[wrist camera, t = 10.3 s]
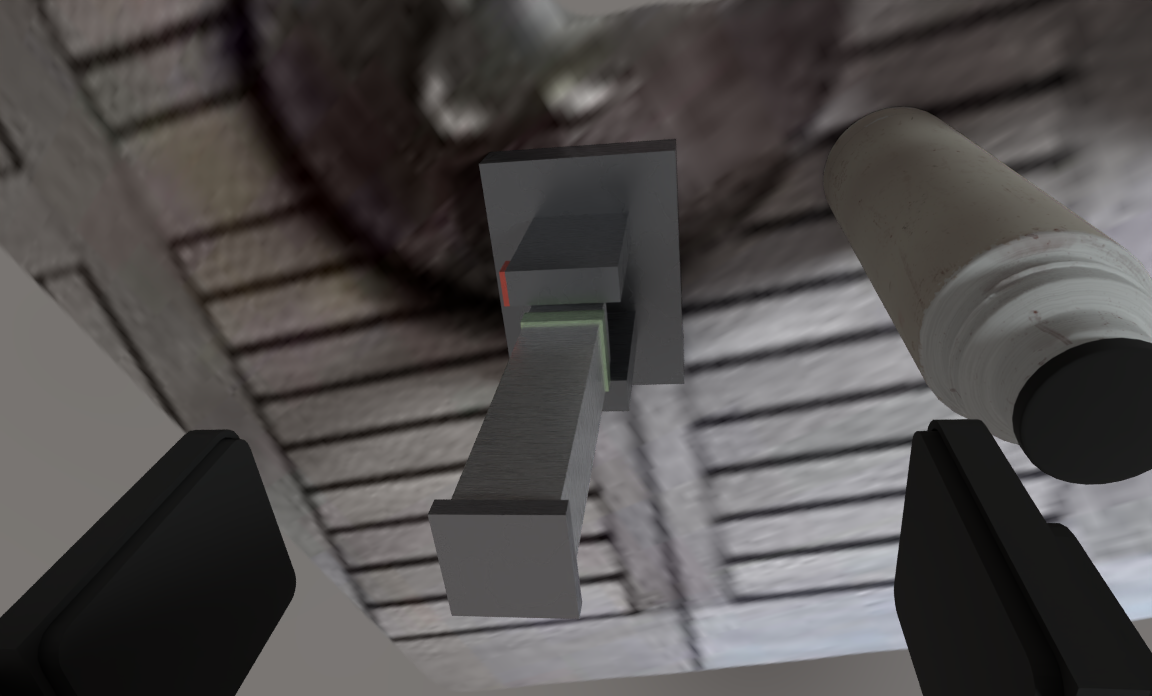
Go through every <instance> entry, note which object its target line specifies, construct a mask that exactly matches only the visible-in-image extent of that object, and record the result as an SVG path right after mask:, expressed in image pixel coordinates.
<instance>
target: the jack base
mask: <svg viewBox="0 0 1152 696" xmlns="http://www.w3.org/2000/svg"><path fill="white" fill-rule="evenodd" d="M479 168H480V174H481V180H482V187H483V193H484V199H485V206H486V212H487V219H488V225H489V231H490V238H491V244H492V250H493V257H494V263H495V269H496V276H497V282H498V288H499V295H500V301H501V308H502V314H503V320H504V327H505V333H506V339H507V346H508V352H509V358H510V356H511V354H512V352H513V349H514V347H515V344H516V342H517V340H518V337H519V335H520V332H521V323H520V322H521V320H522V318H523V315H524V313H529V311H530V308H531V306H532V305H555V304H580V303H606V310H607V321H608V333H609V344H610V355H611V362H610V379H611V381H610V387H609V391H607V392H605V397H604V402H603V408H602V411H629V407H630V398H631V390H632V385H648V384H684V344H683V318H682V291H681V264H680V238H679V211H678V185H677V158H676V139H668V140H654V141H640V142H626V143H612V144H598V145H584V146H570V147H556V148H541V149H527V150H513V151H499V152H489V154H488V155H487V156H486V157H485V158H484V159H483V160H482V161H481V162H480V163H479Z"/></svg>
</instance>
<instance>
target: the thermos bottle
mask: <svg viewBox="0 0 1152 696" xmlns="http://www.w3.org/2000/svg"><path fill="white" fill-rule="evenodd" d="M823 186H824V191H825V196H826V199H827V201H828V204H829V206H830V208H831V210H832V212H833V214H834V216H835V218H836V220H837V221H838V223H839V225H840V226H841V228H842V230H843V232H844V234H845V236H846V237H847V239H848V241H849V243H850V245H851V247H852V248H853V250H854V252H855V254H856V256H857V258H858V259H859V261H860V263H861V265H862V267H863V268H864V270H865V272H866V274H867V276H868V278H869V279H870V281H871V283H872V285H873V287H874V289H875V290H876V292H877V294H878V296H879V298H880V299H881V301H882V303H883V305H884V307H885V309H886V310H887V312H888V314H889V316H890V318H891V319H892V321H893V323H894V325H895V327H896V329H897V330H898V332H899V334H900V336H901V338H902V340H903V341H904V343H905V345H906V347H907V349H908V350H909V352H910V354H911V356H912V358H913V360H914V361H915V363H916V365H917V367H918V369H919V371H920V372H921V374H922V376H923V378H924V380H925V381H926V383H927V385H928V386H929V388H930V389H931V390H932V391H933V393H934V394H935V395H936V397H937V398H938V399H939V400H940V401H941V402H942V403H944V404H945V405H946V406H947V407H949V408H950V409H951V410H952V411H954V412H955V413H957V414H959V415H961V416H963V417H965V418H967V419H979V420H982V421H983V423H984V424H985V425H986V426H987V428H988V430H989V431H990V433H991V434H992V435H994V436H996V437H998V438H1000V439H1002V440H1004V441H1007V442H1011V443H1014V444H1018V445H1020V447H1021V448H1022V450H1023V451H1024V453H1025V454H1026V455H1027V457H1028V458H1029V459H1030V461H1031V462H1032V463H1033V464H1034V465H1035V466H1036V467H1038V468H1039V469H1040V470H1041V471H1043V472H1044V473H1046V474H1048V475H1050V476H1052V477H1054V478H1056V479H1059V480H1063V481H1066V482H1070V483H1077V484H1086V485H1088V484H1106V483H1112V482H1118V481H1122V480H1125V479H1129V478H1132V477H1135V476H1138V475H1140V474H1142V473H1144V472H1146V471H1149V470H1151V469H1152V279H1151V277H1150V276H1149V274H1148V272H1147V271H1146V269H1145V268H1144V266H1143V264H1142V263H1141V262H1139V261H1138V260H1137V259H1136V258H1135V257H1134V256H1133V255H1132V254H1131V253H1130V252H1129V251H1128V250H1126V249H1125V248H1124V247H1122V246H1121V245H1119V244H1118V243H1117V242H1115V241H1114V240H1112V239H1111V238H1109V237H1108V236H1107V235H1105V234H1104V233H1102V232H1101V231H1099V230H1098V229H1097V228H1095V227H1094V226H1092V225H1091V224H1089V223H1088V222H1086V221H1085V220H1084V219H1082V218H1081V217H1079V216H1078V215H1076V214H1075V213H1074V212H1072V211H1071V210H1069V209H1068V208H1066V207H1065V206H1064V205H1062V204H1061V203H1059V202H1058V201H1056V200H1055V199H1054V198H1052V197H1051V196H1049V195H1048V194H1046V193H1045V192H1044V191H1042V190H1041V189H1039V188H1038V187H1036V186H1035V185H1034V184H1032V183H1031V182H1029V181H1028V180H1026V179H1025V178H1024V177H1022V176H1021V175H1019V174H1018V173H1016V172H1015V171H1014V170H1012V169H1011V168H1009V167H1008V166H1006V165H1005V164H1003V163H1002V162H1001V161H999V160H998V159H996V158H995V157H993V156H992V155H991V154H989V153H988V152H986V151H985V150H983V149H982V148H981V147H979V146H978V145H976V144H975V143H973V142H972V141H971V140H969V139H968V138H966V137H965V136H963V135H962V134H961V133H959V132H958V131H956V130H955V129H953V128H952V127H950V126H949V125H948V124H946V123H945V122H943V121H942V120H940V119H939V118H937V117H936V116H934V115H932V114H930V113H928V112H926V111H923V110H920V109H916V108H910V107H894V108H886V109H883V110H879V111H876V112H873V113H871V114H869V115H867V116H865V117H863V118H861V119H859V120H858V121H857V122H855V123H854V124H853V125H851V126H850V127H849V128H848V129H847V130H846V131H845V132H844V133H843V134H842V135H841V136H840V137H839V138H838V140H837V141H836V143H835V145H834V146H833V148H832V149H831V151H830V154H829V156H828V158H827V161H826V165H825V169H824V177H823Z"/></svg>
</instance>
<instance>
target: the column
mask: <svg viewBox="0 0 1152 696" xmlns="http://www.w3.org/2000/svg"><path fill="white" fill-rule="evenodd" d="M520 323H521V332H520V335H519V337H518V340H517V342H516V344H515V347H514V349H513V352H512V354H511V356H510V359H509V361H508V364H507V366H506V369H505V371H504V373H503V376H502V378H501V381H500V383H499V385H498V388H497V390H496V393H495V395H494V397H493V400H492V402H491V405H490V407H489V409H488V412H487V414H486V417H485V419H484V422H483V424H482V426H481V429H480V431H479V434H478V436H477V438H476V441H475V443H474V446H473V448H472V450H471V453H470V455H469V458H468V460H467V462H466V465H465V467H464V470H463V472H462V475H461V477H460V479H459V482H458V484H457V487H456V489H455V491H454V494H453V496H452V499H451V500H434V502H433V504H432V506H431V508H430V511H429V513H428V518H429V522H430V526H431V530H432V534H433V538H434V543H435V547H436V551H437V555H438V559H439V564H440V568H441V572H442V576H443V580H444V584H445V589H446V593H447V597H448V601H449V605H450V610H451V614H452V616H484V617H522V618H561V619H580V613H581V606H582V598H581V590H580V582H579V574H578V567H577V553H578V547H579V541H580V535H581V530H582V524H583V518H584V512H585V507H586V501H587V495H588V489H589V483H590V478H591V472H592V466H593V460H594V454H595V449H596V443H597V437H598V431H599V425H600V420H601V414H602V408H603V402H604V397H605V392H607V391H609V387H610V381H611V379H610V362H611V355H610V344H609V333H608V321H607V310H606V303H580V304H555V305H532V306H531V308H530V311H529V313H524V315H523V318H522V320H521V322H520Z"/></svg>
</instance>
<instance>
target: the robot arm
mask: <svg viewBox="0 0 1152 696" xmlns="http://www.w3.org/2000/svg"><path fill="white" fill-rule="evenodd" d="M295 587H296V576H295V572H294V569H293V567H292V564H291V561H290V558H289V555H288V552H287V550H286V547H285V544H284V541H283V538H282V536H281V533H280V530H279V527H278V524H277V522H276V519H275V516H274V513H273V510H272V508H271V505H270V502H269V499H268V496H267V494H266V491H265V488H264V485H263V482H262V480H261V477H260V474H259V471H258V468H257V466H256V463H255V460H254V457H253V454H252V452H251V449H250V447H249V445H248V443H247V442H246V441H245V440H242V439H240V438H239V436H238V435H237V434H236V433H235V432H234V431H231V430H193V431H189V432H188V433H187V434H185V435H184V436H183V437H182V438H181V439H180V440H179V441H178V442H177V443H176V444H175V445H174V446H173V447H172V448H171V449H170V450H169V451H168V452H167V453H166V454H165V455H164V456H163V457H162V458H161V459H160V460H159V461H158V462H157V463H156V464H155V465H154V466H153V467H152V468H151V469H150V470H149V471H148V472H147V473H146V474H145V475H144V476H143V477H142V478H141V479H140V480H139V481H138V482H137V483H136V484H135V485H134V486H133V487H132V488H131V489H130V490H129V491H127V493H125V495H123V496H122V497H121V498H120V499H119V500H118V502H116V503H115V504H114V506H112V507H111V508H110V509H109V510H108V511H107V512H106V513H105V514H104V515H103V516H102V517H101V518H100V519H99V520H98V521H97V522H96V523H95V524H94V525H93V526H92V527H91V528H90V529H89V530H88V531H87V532H86V533H85V534H84V535H83V536H82V537H81V538H80V539H79V540H78V541H77V542H76V543H75V544H74V545H73V546H72V547H71V548H70V549H69V550H68V551H67V552H66V553H65V554H64V555H63V556H62V557H61V558H60V559H59V560H58V561H57V562H56V563H55V564H54V565H53V566H52V567H51V568H50V569H49V570H48V571H47V572H46V573H45V574H44V575H43V576H42V577H41V578H40V579H39V580H38V581H37V582H36V583H35V584H34V585H33V586H32V587H31V588H30V589H29V590H28V591H27V592H26V593H25V594H24V595H23V596H22V597H21V598H20V599H19V600H18V601H17V602H16V603H15V604H14V605H13V606H12V607H11V608H10V609H9V610H8V611H7V612H6V613H5V614H3V615H2V617H1V618H0V696H235V695H236V693H237V691H238V689H239V688H240V686H241V685H242V683H243V681H244V679H245V678H246V676H247V674H248V673H249V671H250V669H251V668H252V666H253V664H254V663H255V661H256V659H257V657H258V656H259V654H260V653H261V651H262V649H263V647H264V646H265V644H266V642H267V641H268V639H269V637H270V636H271V634H272V632H273V631H274V629H275V627H276V626H277V624H278V622H279V621H280V619H281V617H282V615H283V614H284V612H285V610H286V608H287V607H288V605H289V604H290V602H291V600H292V598H293V596H294V592H295ZM894 598H895V606H896V611H897V615H898V618H899V621H900V624H901V627H902V631H903V634H904V637H905V640H906V643H907V646H908V649H909V652H910V656H911V659H912V662H913V665H914V668H915V671H916V675H917V678H918V681H919V684H920V687H921V690H922V694H923V696H1152V653H1151V651H1150V649H1149V648H1148V647H1147V645H1146V643H1145V642H1144V640H1143V639H1142V637H1141V636H1140V634H1139V633H1138V631H1137V630H1136V628H1135V627H1134V625H1133V624H1132V622H1131V621H1130V619H1129V617H1128V616H1127V614H1126V613H1125V611H1124V610H1123V608H1122V607H1121V605H1120V604H1119V602H1118V601H1117V599H1116V598H1115V596H1114V595H1113V593H1112V592H1111V590H1110V589H1109V587H1108V586H1107V584H1106V582H1105V581H1104V579H1103V578H1102V576H1101V575H1100V573H1099V572H1098V570H1097V569H1096V567H1095V566H1094V564H1093V563H1092V561H1091V560H1090V558H1089V557H1088V555H1087V554H1086V552H1085V551H1084V549H1083V547H1082V546H1081V544H1080V543H1079V541H1078V540H1077V538H1076V537H1075V536H1074V534H1073V533H1072V532H1071V531H1070V530H1069V529H1068V527H1066V526H1064V525H1062V524H1060V523H1046V521H1045V519H1044V518H1043V516H1042V515H1041V513H1040V511H1039V510H1038V508H1037V507H1036V505H1035V503H1034V502H1033V500H1032V499H1031V497H1030V495H1029V494H1028V492H1027V491H1026V489H1025V487H1024V486H1023V484H1022V483H1021V481H1020V479H1019V478H1018V476H1017V475H1016V473H1015V471H1014V470H1013V468H1012V467H1011V465H1010V463H1009V462H1008V460H1007V459H1006V457H1005V455H1004V454H1003V452H1002V451H1001V449H1000V447H999V446H998V444H997V442H996V441H995V439H994V438H993V436H992V434H991V433H990V431H989V430H988V428H987V426H986V425H985V424H984V423H983V421H982V420H979V419H957V420H933V421H931V422H930V424H929V426H928V430H927V431H917V432H915V434H914V436H913V440H912V447H911V455H910V463H909V471H908V479H907V487H906V495H905V503H904V510H903V518H902V526H901V534H900V542H899V550H898V558H897V566H896V574H895V582H894Z"/></svg>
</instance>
